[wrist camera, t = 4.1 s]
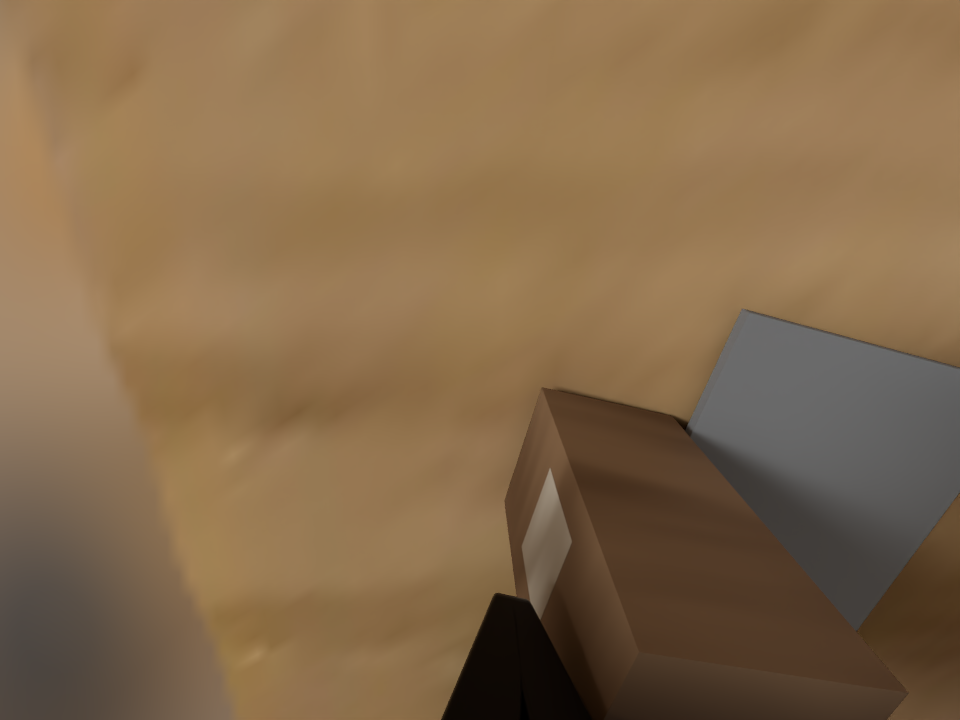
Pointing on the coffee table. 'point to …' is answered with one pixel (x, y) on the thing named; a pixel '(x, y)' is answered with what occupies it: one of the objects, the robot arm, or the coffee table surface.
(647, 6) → the coffee table surface
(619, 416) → the walnut block
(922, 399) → the felt mat
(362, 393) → the coffee table surface
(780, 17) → the coffee table surface
